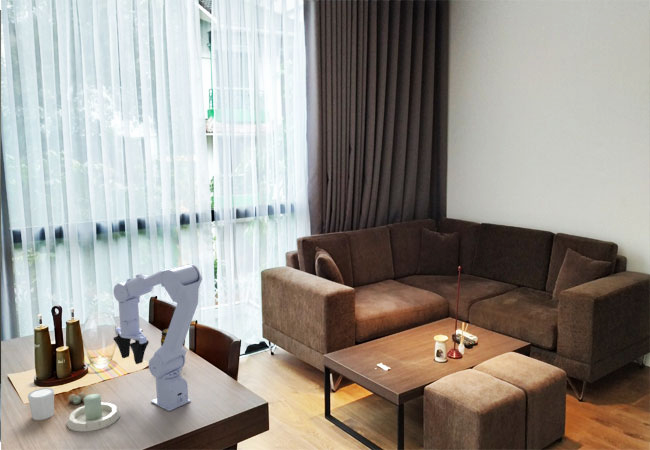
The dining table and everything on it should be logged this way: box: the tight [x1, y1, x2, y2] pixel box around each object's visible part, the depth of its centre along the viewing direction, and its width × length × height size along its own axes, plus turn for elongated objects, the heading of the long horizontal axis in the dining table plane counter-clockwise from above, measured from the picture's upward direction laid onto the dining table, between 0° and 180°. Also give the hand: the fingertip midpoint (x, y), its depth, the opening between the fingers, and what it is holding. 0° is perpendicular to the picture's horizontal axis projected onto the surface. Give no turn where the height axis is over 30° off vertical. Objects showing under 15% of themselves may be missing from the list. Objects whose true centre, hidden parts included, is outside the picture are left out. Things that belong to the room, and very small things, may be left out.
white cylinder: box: [27, 387, 55, 421], centre depth 162 cm, size 7×7×7 cm
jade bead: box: [83, 393, 102, 421], centre depth 160 cm, size 4×4×6 cm
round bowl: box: [66, 401, 121, 433], centre depth 160 cm, size 14×14×2 cm
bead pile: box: [67, 392, 89, 405], centre depth 170 cm, size 6×5×2 cm
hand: (132, 360), depth 177 cm, fingers open, 7 cm apart
